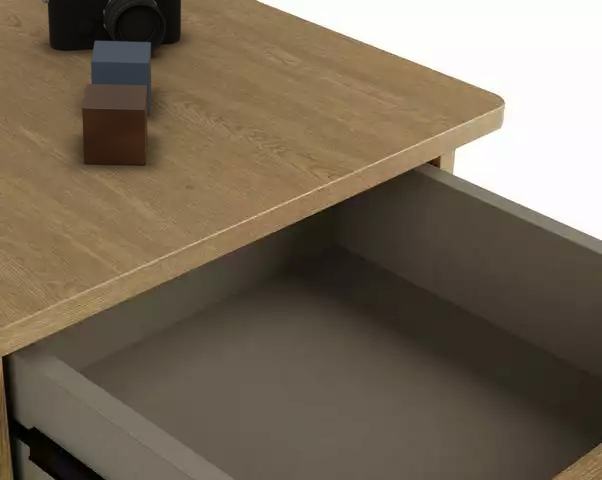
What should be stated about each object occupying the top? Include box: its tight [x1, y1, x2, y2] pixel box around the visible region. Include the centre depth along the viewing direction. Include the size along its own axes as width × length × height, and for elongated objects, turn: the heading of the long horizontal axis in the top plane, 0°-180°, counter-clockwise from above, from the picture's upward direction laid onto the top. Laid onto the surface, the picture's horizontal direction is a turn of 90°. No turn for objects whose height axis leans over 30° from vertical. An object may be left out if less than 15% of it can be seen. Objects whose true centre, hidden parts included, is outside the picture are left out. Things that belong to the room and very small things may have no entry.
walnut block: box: [81, 83, 148, 166], centre depth 107 cm, size 5×5×5 cm
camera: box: [41, 0, 182, 53], centre depth 127 cm, size 14×7×8 cm, turn 109°
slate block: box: [90, 41, 152, 117], centre depth 116 cm, size 5×5×5 cm
